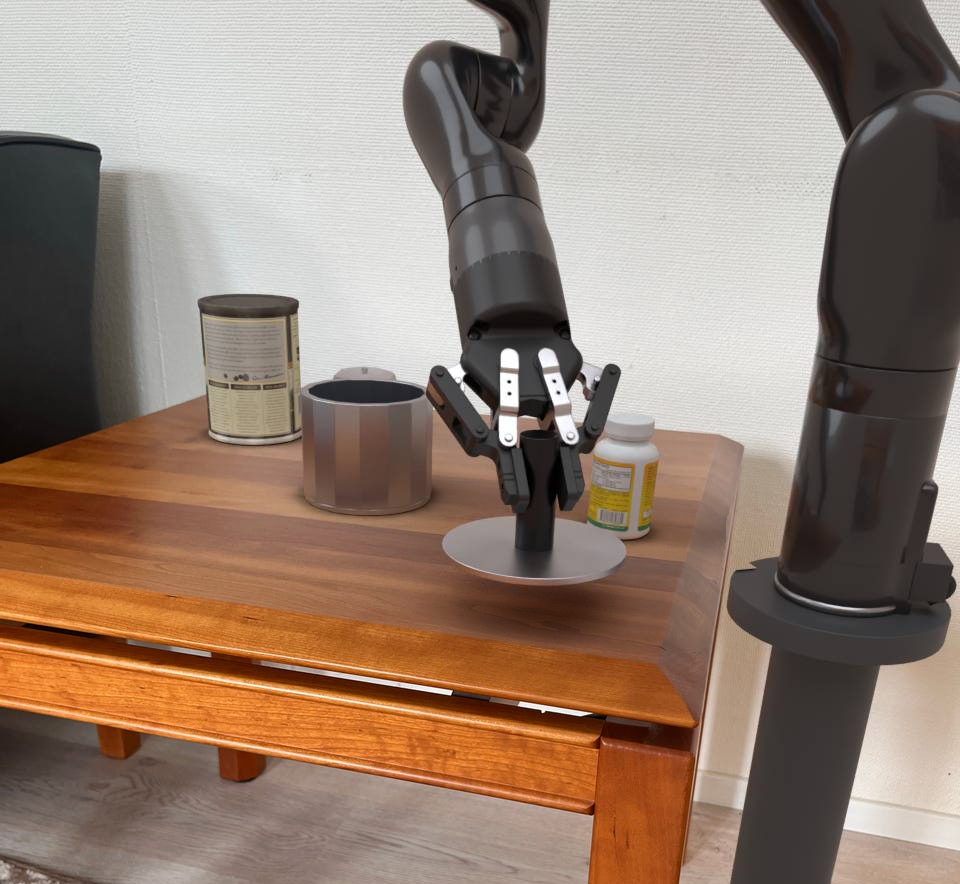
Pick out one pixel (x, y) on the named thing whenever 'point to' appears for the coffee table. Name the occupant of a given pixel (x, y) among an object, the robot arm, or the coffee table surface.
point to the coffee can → (251, 367)
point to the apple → (364, 373)
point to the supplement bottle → (624, 476)
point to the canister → (366, 445)
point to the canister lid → (535, 533)
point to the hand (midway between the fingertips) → (546, 505)
